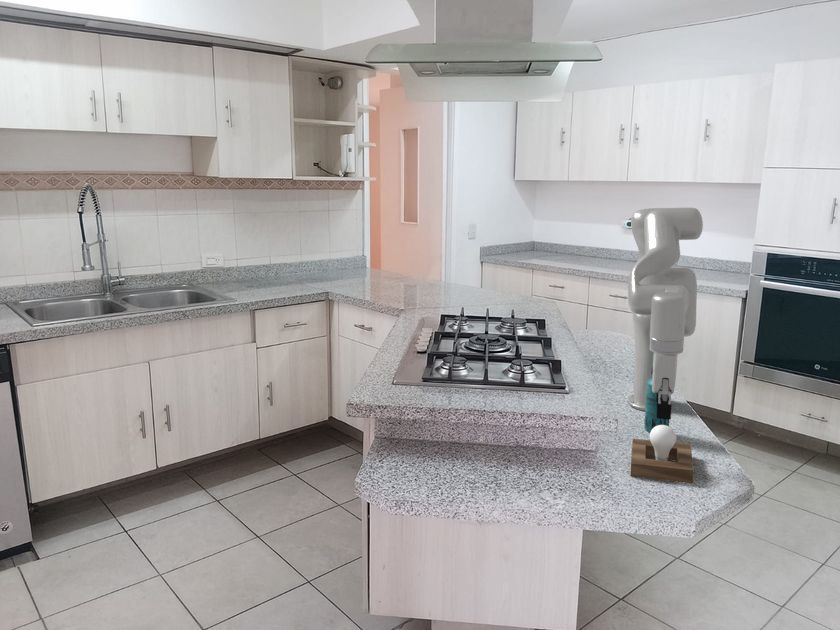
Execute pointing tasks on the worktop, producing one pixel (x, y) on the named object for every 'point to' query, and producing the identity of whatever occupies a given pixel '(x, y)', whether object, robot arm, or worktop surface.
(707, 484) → the worktop surface
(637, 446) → the socket block
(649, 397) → the beverage bottle
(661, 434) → the lightbulb
